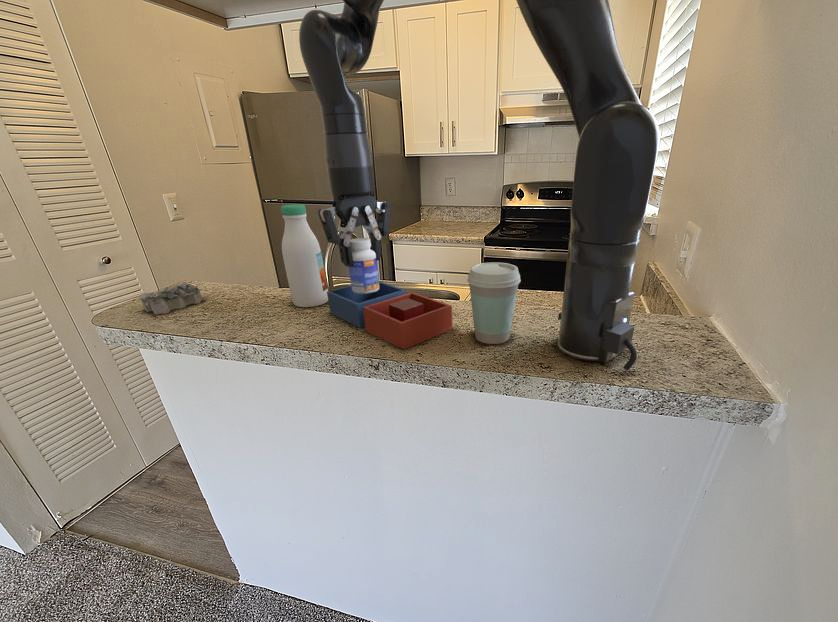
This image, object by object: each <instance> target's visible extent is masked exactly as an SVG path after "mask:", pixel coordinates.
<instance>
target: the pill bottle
mask: <svg viewBox="0 0 838 622" xmlns="http://www.w3.org/2000/svg"><path fill="white" fill-rule="evenodd" d="M370 240H371V238H370V237H356V238H351V240H350V244H349V246H351V252H352V259H353V266H352V267H348V273H349V280H350V285H351V287H352V291H353V292H354V293H357V294H369V293H373V292H376V291H378V290H379V281H380V280H379V279H380V278H379V272H378V263H377V262H378V261H376V254H375V252H374V251H373V250H370V247H371V242H370Z"/></svg>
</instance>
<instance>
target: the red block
mask: <svg viewBox="0 0 838 622" xmlns="http://www.w3.org/2000/svg"><path fill="white" fill-rule="evenodd" d="M389 313H390V317H392V318H394V319H396V320H399V321H401V322H403V321H405V320H408V319H411V318H414V317H417V316H420V315H422V314H424V304H423V303H420V302H417V301H414V300H411V299H409V298H407V299H404V300H401V301H398V302H395V303H392V304H389Z"/></svg>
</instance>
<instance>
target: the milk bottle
mask: <svg viewBox="0 0 838 622" xmlns="http://www.w3.org/2000/svg"><path fill="white" fill-rule="evenodd" d="M280 212H281V215H282V219H283V220H284V229H283V230H284V231H283V234H282V240H281V253H282V259H283V264H284V269H285V274H286V278H287V283H288V287H289V292H290V297H291V300H292V304H293V305H294V306H296V307H299V308H313V307H314V308H315V307H318V306H321V305H324V304H326V303H328V296H327V291H329V287H328V281H327V277H326V270H325V266H324V260H323V255H322V250H321V246H320V243H319V241H318V239H317V236H316V235H315V234H314V232H313V231H312V229H311V227H310V225H309V222H308V221H307V209H306V205H305V204H302V203H294V204H285V205H282V206H280Z"/></svg>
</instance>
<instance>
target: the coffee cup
mask: <svg viewBox="0 0 838 622" xmlns="http://www.w3.org/2000/svg"><path fill="white" fill-rule="evenodd" d="M466 279H467V283H468V286H469V292H470V303H471V311H472V321H473V327H474V328H473V329H474V336H475V339H476V340H477V341H478V342H480V343H483V344H487V345H499V344H503V343H506V342H507V341H508V340H509V339H510V336H511V330H512V324H513V319H514V313H515V307H516V301H517V295H518V289H519V285H520V283H521V282H522V280H521V274H520V272H519V268H518V266H517V265H515V264H511V263H508V262H496V261H495V262H481V263H477V264H474V265H472V266H471V267H470V270H469V273H468V275H467V278H466Z"/></svg>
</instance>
